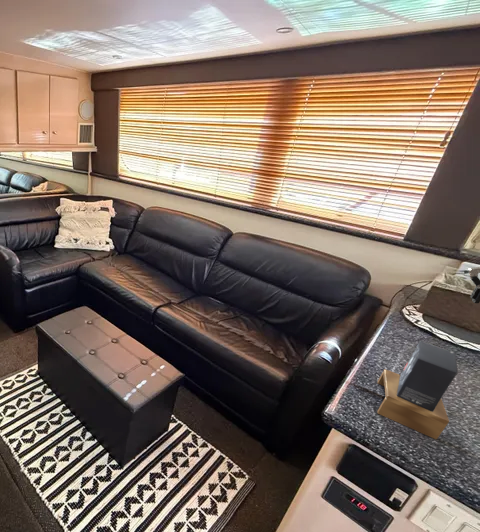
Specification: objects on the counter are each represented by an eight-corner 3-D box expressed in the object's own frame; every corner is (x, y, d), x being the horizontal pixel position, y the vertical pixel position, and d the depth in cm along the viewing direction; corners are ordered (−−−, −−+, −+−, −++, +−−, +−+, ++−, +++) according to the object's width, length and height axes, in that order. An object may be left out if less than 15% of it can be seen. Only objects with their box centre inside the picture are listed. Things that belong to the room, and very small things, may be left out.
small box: (398, 374, 89) (419, 339, 85) (432, 389, 85) (456, 352, 80) (395, 395, 81) (418, 357, 76) (432, 413, 76) (459, 373, 72)
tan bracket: (427, 406, 87) (438, 389, 85) (436, 439, 76) (449, 421, 74) (375, 385, 94) (384, 368, 91) (377, 413, 83) (387, 395, 81)
